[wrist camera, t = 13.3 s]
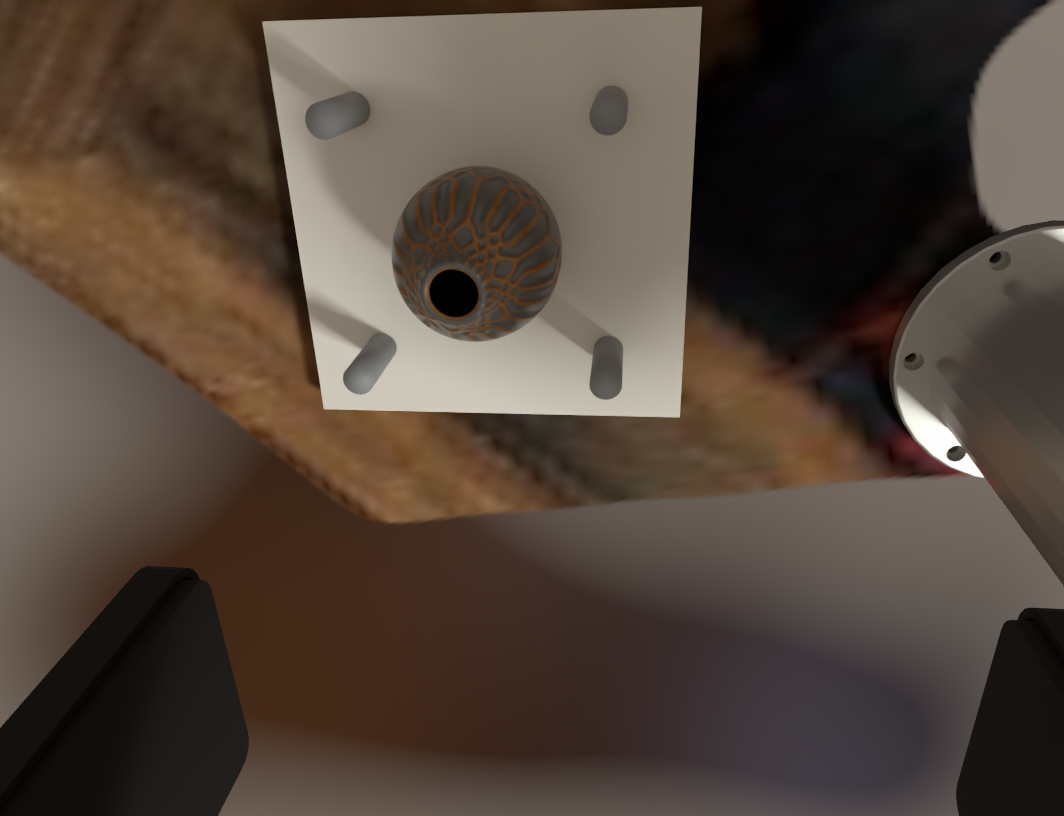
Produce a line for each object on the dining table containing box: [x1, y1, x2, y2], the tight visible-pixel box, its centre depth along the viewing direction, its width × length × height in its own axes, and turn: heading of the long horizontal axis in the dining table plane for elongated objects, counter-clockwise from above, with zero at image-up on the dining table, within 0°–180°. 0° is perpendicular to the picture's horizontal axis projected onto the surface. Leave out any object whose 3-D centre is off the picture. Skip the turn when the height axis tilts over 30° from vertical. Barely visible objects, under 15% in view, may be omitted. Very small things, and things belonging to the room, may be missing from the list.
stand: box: [262, 7, 702, 417], centre depth 36 cm, size 18×18×6 cm
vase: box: [392, 166, 562, 342], centre depth 33 cm, size 7×7×9 cm
